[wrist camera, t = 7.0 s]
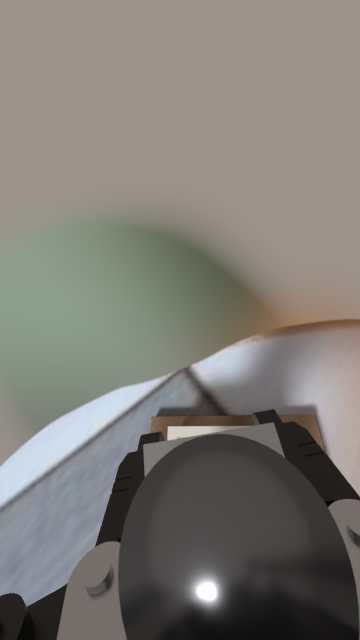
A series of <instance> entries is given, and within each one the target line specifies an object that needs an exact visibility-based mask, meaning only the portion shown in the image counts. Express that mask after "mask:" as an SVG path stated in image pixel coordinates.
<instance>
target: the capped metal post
mask: <svg viewBox="0 0 360 640" xmlns="http://www.w3.org/2000/svg"><path fill="white" fill-rule="evenodd" d="M143 450H144V471H145V478H144V480H143V482H142V483H141V485H140V486H139V488H138V490H137V492H136V494H135V496H134V498H133V501H132V503H131V505H130V508H129V511H128V514H127V517H126V520H125V524H124V528H123V532H122V536H121V544H120V551H119V563H118V588H119V601H120V608H121V615H122V620H123V625H124V629H125V633H126V638H127V640H358V639H359V606H358V598H357V590H356V583H355V578H354V574H353V569H352V565H351V561H350V558H349V555H348V552H347V549H346V546H345V543H344V540H343V538H342V535H341V533H340V531H339V528H338V526H337V524H336V522H335V520H334V518H333V516H332V514H331V512H330V511H329V509H328V507H327V505H326V504H325V502H324V501H323V499H322V498H321V496H320V495H319V493H318V492H317V490H316V489H315V488H314V486H313V485H312V484H311V483H310V482H309V480H308V479H307V478H306V477H305V476H304V475H303V474H302V473H301V472H300V471H299V470H298V469H297V468H296V467H295V466H294V465H293V464H292V463H291V462H289V461H288V460H287V459H286V458H285V456H284V453H283V450H282V447H281V444H280V441H279V437H278V434H277V431H276V428H275V425H274V422H273V423H267V424H261V425H255V426H250V427H244V428H238V429H232V430H226V431H220V432H215V433H209V434H203V435H197V436H191V437H185V438H179V439H174V440H168V441H162V442H156V443H150V444H144V445H143Z"/></svg>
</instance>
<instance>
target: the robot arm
mask: <svg viewBox="0 0 360 640" xmlns="http://www.w3.org/2000/svg"><path fill="white" fill-rule="evenodd" d="M253 420H254V426H255V425H261V424H267V423H273V422H274V425H275V428H276V431H277V434H278V437H279V441H280V444H281V447H282V450H283V453H284V456H285V458H286V459H287V460H288V461H289V462H291V463H292V464H293V465H294V466H295V467H296V468H297V469H298V470H299V471H300V472H301V473H302V474H303V475H304V476H305V477H306V478H307V479H308V480H309V482H310V483H311V484H312V485H313V486H314V488H315V489H316V490H317V492H318V493H319V495H320V496H321V498H322V499H323V501H324V502H325V504H326V505H327V507H328V509H329V511H330V512H331V514H332V516H333V518H334V520H335V522H336V524H337V526H338V528H339V531H340V533H341V535H342V538H343V540H344V543H345V546H346V549H347V552H348V555H349V558H350V561H351V565H352V569H353V574H354V578H355V583H356V590H357V598H358V606H359V639H358V640H360V497H359V495H358V494H357V493H356V491H355V490H354V489H353V488H352V486H351V485H350V484H349V483H348V481H347V480H346V479H345V477H344V476H343V475H342V474H341V472H340V471H339V470H338V469H337V467H336V466H335V465H334V463H333V462H332V461H331V460H330V458H329V457H328V456H327V454H325V453H324V451H323V449H322V448H321V447H320V446H319V444H317V443H316V440H315V439H314V438H313V437H312V435H311V434H310V433H309V432H308V430H307V429H305V428H304V427H302V426H300V425H299V424H297V423H296V422H294V421H291V422H286V423H283V422H282V420H281V419H280V417H279V416H278V414H277V413H276V411H275V410H274V409H272V410H267V411H262V412H257V413H253ZM162 441H165V440H164V437H163V434H162V432H161V431H160V432H154V433H149V434H144V435H141V437H140V441H139V445H138V450H137V451H136V452H131V453H128V454H127V456H126V457H125V458H124V460H123V461H122V462H121V464H120V465H119V468H118V472H117V475H116V478H115V482H114V485H113V488H112V494H111V495H110V499H109V502H108V505H107V509H106V512H105V515H104V519H103V522H102V526H101V529H100V532H99V536H98V539H97V542H96V545H95V547H94V548H93V549H92V550H90V551H89V552H88V553H87V554H86V555H85V556H84V557H83V558H82V559H81V560H80V562H79V563H78V564H77V566H76V567H75V569H74V571H73V573H72V574H71V576H70V579H69V582H68V583H67V584H66V585H65V586H63V587H61V588H60V589H58V590H56V591H55V592H53V593H51V594H49V595H47V596H46V597H44V598H42V599H40V600H38V601H37V602H35V603H33V604H31V605H29V606H28V607H26V605H25V603H24V600H23V599H22V597H21V596H20V595H18V594H15V593H9V594H5V595H2V596H0V640H127V638H126V633H125V629H124V625H123V620H122V615H121V608H120V601H119V588H118V563H119V551H120V544H121V536H122V532H123V528H124V524H125V520H126V517H127V514H128V511H129V508H130V505H131V503H132V501H133V498H134V496H135V494H136V492H137V490H138V488H139V486H140V485H141V483H142V482H143V480H144V478H145V471H144V450H143V445H144V444H150V443H156V442H162Z"/></svg>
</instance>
